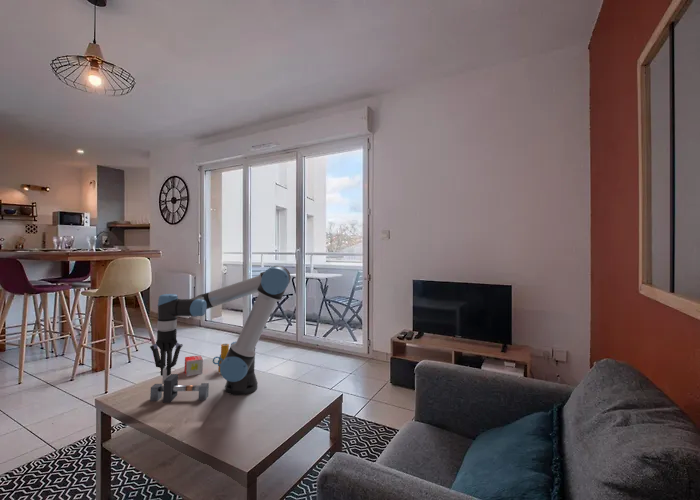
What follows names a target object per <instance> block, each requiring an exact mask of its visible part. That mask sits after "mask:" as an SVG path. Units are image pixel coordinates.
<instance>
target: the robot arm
mask: <svg viewBox="0 0 700 500" xmlns="http://www.w3.org/2000/svg"><path fill="white" fill-rule="evenodd" d="M291 279H292V278H291V273H290V271H289V269H287V268H286V267H284V266H283V265H274V266H272V267H269V268H267V269H266V270H265V271H263V272H260V274H258V275H257V276H254V277H251V278H248V279H245V280H242V281H239V282H235V283H232V284H230V285H226V286H224V287H220V288H217V289H214V290H211V291H209V292H206V293H205V292H204V293H202V294H199V295H196V296H195V297H191V298H179V297H178V294H176V293H164V294H160V295H159V296H158V300H157V322H156V323H157V325H156V326H157V328H156V329H157V332H156V334H157V335H156V341H155V343H153V344H152V345H150V346H149V348H150V350H151V352H152V355H153V359H154V362H155V363H154V365H155V367H156V368H160V376H162V382H161V384H162V385H164V380H165V379H166V378H167V377H169V376H170V375H171V374H172V368H174V367H175V366H176V365H177V362H178V359H179V354H180V351H181V349H182V348H183V343H181V344H180V343H179V342H178V340H177V333H178V332H177V331H178V330H177V327H178V325H177V323H178V317H195V318H196V317H204V315H205V314H206V312H207V310H208V309H212V308H214V307H217V306H220V305H223V304H226V303H230V302H232V301H237V300H239V299H241V298H245V297H247V296H250V295H254V294H256V293H257V294H258V295H257V297H256V299H255V301H254V303H253V306H252V308H251V310H250V312H249V315H248V316H247V318H246V321H245V323H244V325H243V327H242V329H241V332H240V334H239V336H238V338H237V339H236V341H233V342H231V343H230V346H229V351H228V353H227V355H226V357H225V359H224V360H223V361H222V363H221V366H220V373H219V374H220V375H221V377H222V379H224V380H226V383H225V387H224V391H225V392H226V393H227V395H228V394H229V395H232V396H242V395H244V396H245V395H248V394H251V393H253V392H255V391H257V389H258V380H257V377H256V373H255V367H256V365H255V363H256V362H255V359H256V349H257V348H256V346H257V344H258V343H259V341H260V340H259V339H260V338H261V335H262V333H263V331H264V329H265V327H266V325H267V323H268V320H269V318H270V317H271V315H272V312H273V309H274V308H275V306H276V303H277V302H279V301H281V300H282V298H283V296H284V294H285V291H286V290H287V288H288V286H289V284H290V282H291ZM174 348H175V350H174V354H173V349H174Z"/></svg>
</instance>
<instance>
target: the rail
mask: <svg viewBox="0 0 700 500" xmlns="http://www.w3.org/2000/svg"><path fill="white" fill-rule="evenodd" d="M209 387H210V385H209V382H202V383H201V384H200V385H198V384H193V385H190V384H189V385H187V384H186V385H180V384H179V385H178V386H173V387H172V391H178V392H198V397H197V398H198V401H206V400H207V398H208V397H209V389H210V388H209ZM163 391H164V385H163V384H162V383H154V384H153V385H152V386H151V387H150V394H149V396H150V397H149V399H150V400H149V401H150V402H158V401H159V400H160V399H161V398H163V397H162V396H163Z"/></svg>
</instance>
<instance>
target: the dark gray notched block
mask: <svg viewBox="0 0 700 500" xmlns="http://www.w3.org/2000/svg"><path fill="white" fill-rule="evenodd" d="M178 384H179V373H171V374H170V375H169V377H167V378H166V379H165V380H164V384H163V386H164V391H163V392H162V396H163V397H162V403H163V404H164V403H167V404H168V403H169V404H170V403H172V402H173V400H174V399H176V397H177V396H178V392H179V391H172V387H173V386H179V385H178Z"/></svg>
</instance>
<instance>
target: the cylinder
mask: <svg viewBox="0 0 700 500" xmlns="http://www.w3.org/2000/svg"><path fill="white" fill-rule="evenodd" d="M220 345H221V346H220V354H219V356H215V357H213V358H212V363H213V364H214V365H217V366H218V367H217V368H218V371H217V372H218V373H219V374H221V373H220V366H221V363H222V361H223V360H224V359H225V357H226V355H227V353H228V351H229V349H230V344H229V343H221V344H220ZM216 359H218V360H217V362H215V360H216Z"/></svg>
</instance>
